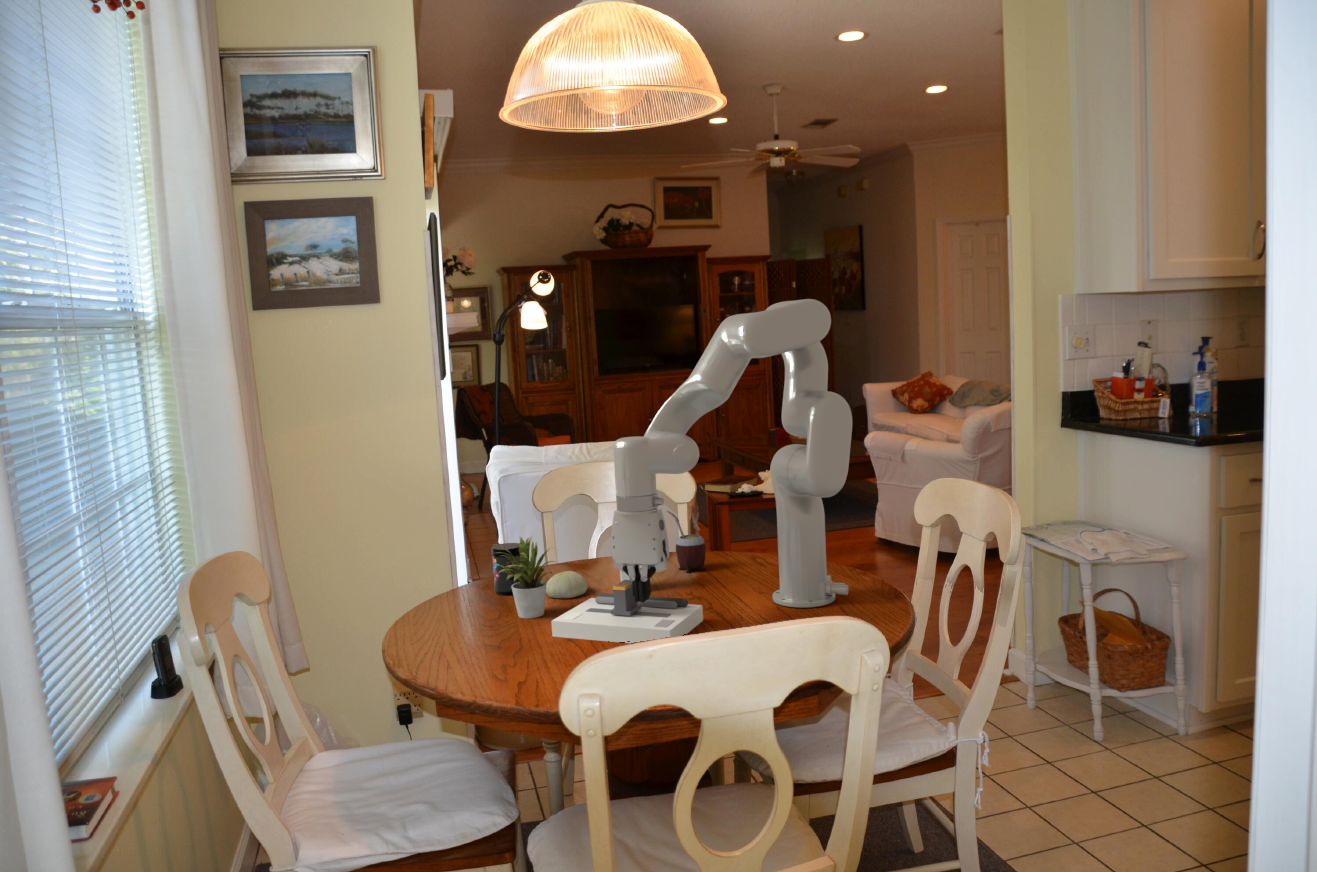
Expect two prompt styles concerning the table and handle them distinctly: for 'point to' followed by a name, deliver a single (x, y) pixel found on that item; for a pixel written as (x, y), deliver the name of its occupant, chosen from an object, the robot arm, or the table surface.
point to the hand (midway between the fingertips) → (642, 600)
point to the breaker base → (628, 620)
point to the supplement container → (500, 578)
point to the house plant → (528, 580)
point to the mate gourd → (690, 550)
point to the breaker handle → (624, 599)
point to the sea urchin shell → (566, 585)
